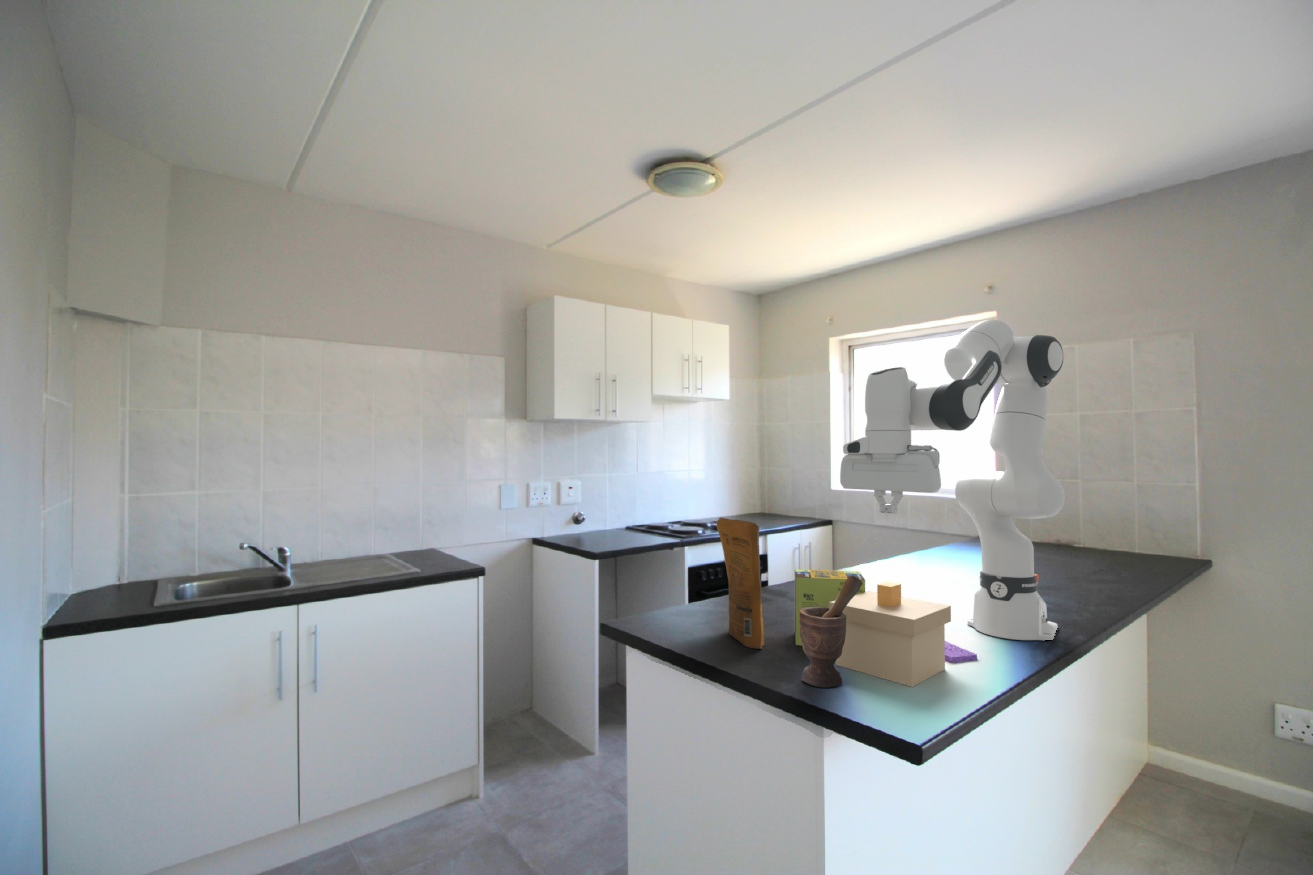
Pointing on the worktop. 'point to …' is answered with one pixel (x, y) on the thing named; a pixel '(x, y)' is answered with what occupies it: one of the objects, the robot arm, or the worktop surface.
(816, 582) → the protein box
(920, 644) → the carton
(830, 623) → the mortar and pestle
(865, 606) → the carton lid
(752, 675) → the worktop surface
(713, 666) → the worktop surface
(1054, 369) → the robot arm
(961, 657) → the sponges
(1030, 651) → the worktop surface
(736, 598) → the pancake mix bag
